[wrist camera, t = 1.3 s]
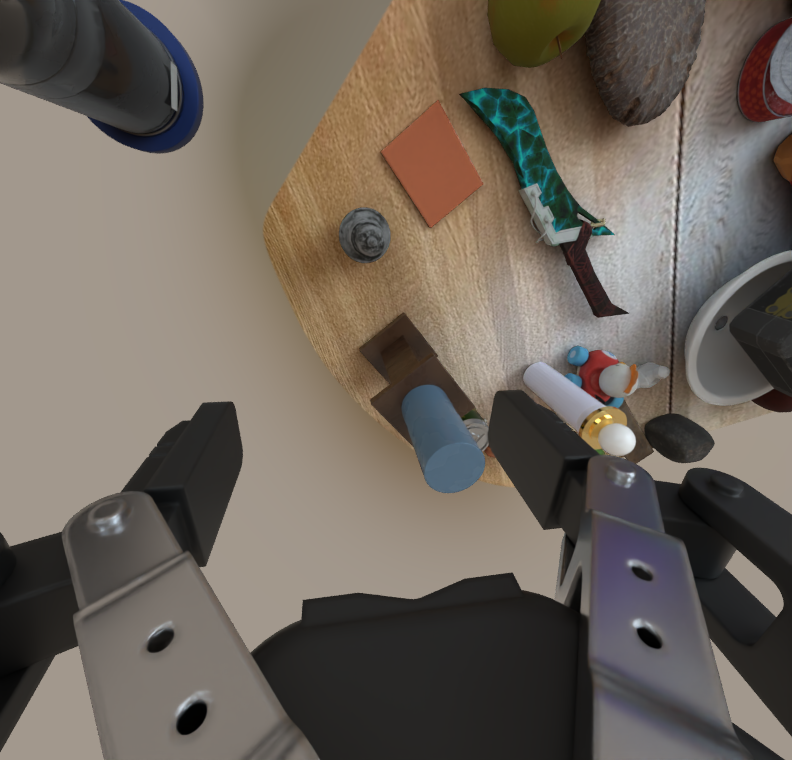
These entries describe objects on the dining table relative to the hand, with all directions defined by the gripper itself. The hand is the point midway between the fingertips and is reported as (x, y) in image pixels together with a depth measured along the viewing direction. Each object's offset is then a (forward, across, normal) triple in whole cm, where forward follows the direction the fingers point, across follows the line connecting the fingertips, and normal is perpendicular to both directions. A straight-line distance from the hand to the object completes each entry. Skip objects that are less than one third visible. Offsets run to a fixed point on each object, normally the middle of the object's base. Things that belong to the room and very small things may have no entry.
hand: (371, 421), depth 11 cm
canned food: (+38, -53, -23) cm, 69 cm away
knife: (+38, -28, -7) cm, 47 cm away
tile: (+38, -11, -11) cm, 41 cm away
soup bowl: (+38, -61, +8) cm, 72 cm away
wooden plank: (+38, -53, +27) cm, 70 cm away
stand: (+38, -8, +12) cm, 40 cm away
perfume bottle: (+38, -30, +16) cm, 51 cm away
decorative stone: (+37, -31, -26) cm, 55 cm away
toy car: (+36, -38, +17) cm, 55 cm away
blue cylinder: (+22, -8, +12) cm, 26 cm away
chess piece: (+38, -3, -4) cm, 38 cm away
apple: (+34, -17, -30) cm, 48 cm away
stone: (+34, -64, +32) cm, 79 cm away
